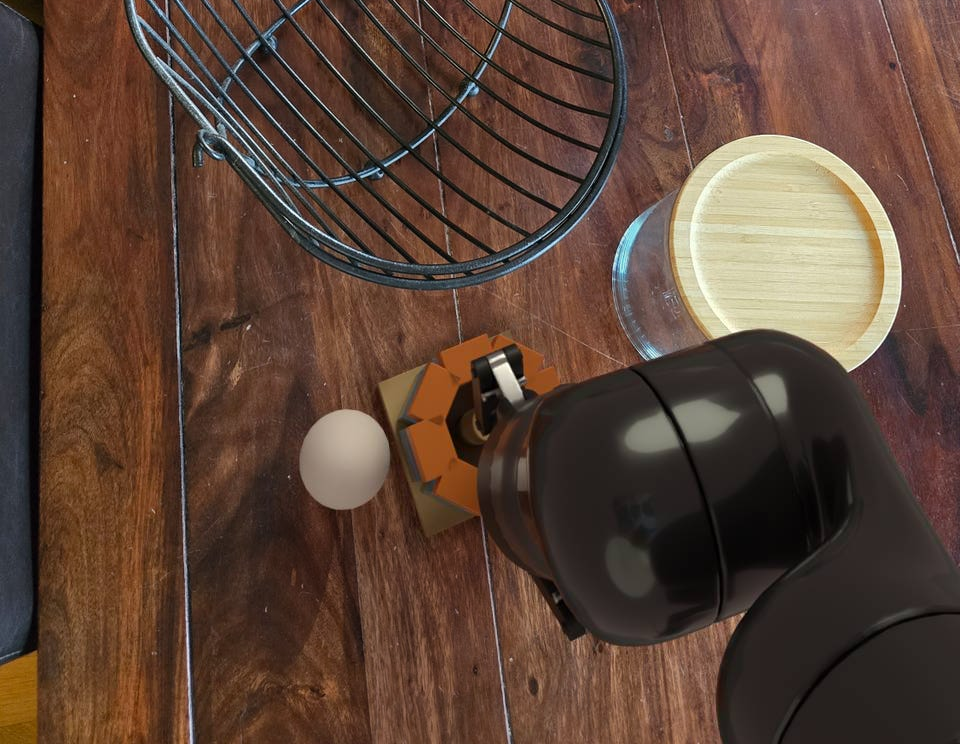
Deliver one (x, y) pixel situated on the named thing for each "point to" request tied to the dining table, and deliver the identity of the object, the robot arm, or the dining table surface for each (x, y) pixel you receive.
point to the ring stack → (463, 434)
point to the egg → (344, 459)
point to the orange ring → (434, 406)
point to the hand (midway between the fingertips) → (508, 486)
